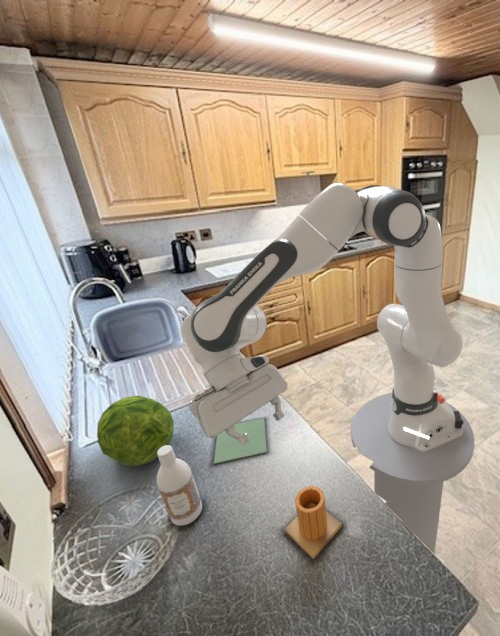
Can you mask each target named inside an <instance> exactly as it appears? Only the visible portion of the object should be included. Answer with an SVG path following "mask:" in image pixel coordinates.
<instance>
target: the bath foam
mask: <svg viewBox="0 0 500 636" xmlns="http://www.w3.org/2000/svg"><path fill="white" fill-rule="evenodd" d="M157 455H158V457H157V458H158V461H159V462H160V466H159V469H158V471H157V474H156V485H157V490H158V491H159V494H160V497H161V499H162V502H163V504H164V506H165V509H166V511H167V513H168V516H169V518H170V521H171V522H172V524H174V525H176V526H179V527H181V526H182V527H183V526H187V525H189V524H191V523H193V522H194V521H195V520H196V519H197V518H199V516H200V515H201V512H202V509H203V502H202V499H201V495H200V493H199V490H198V487H197V484H196V481H195V477H194V475H193V472H192V469H191V467H190V466H189V464H188V462H186V461H184V460H182V459H180V458H178V457H176V454H175V452H174V449H173V446H172V445H170V444H169V445H166V446H163V447H161V448H160V449H159V450H158V451H157Z"/></svg>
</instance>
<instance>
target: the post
mask: <svg viewBox="0 0 500 636" xmlns="http://www.w3.org/2000/svg"><path fill="white" fill-rule="evenodd" d="M315 507H316V505H315V504H313V503H310V504H308V505H307V506H306V509H311V508H315ZM326 518H327V528H326V531H325V533H324V534H323V535H322V536H321V537H320V538H318V539H315V540H309V539H305V538H304V537H303V536H302V535H301V533H300V529H299V522H298V516H296V517H295V518H294V519H293V520H292V521H291V522H290V523H289V524H288V525H287V526H286V527H285V528H284V530H283V531H284V533H285V534H286V535H287V536H288V537H289V538H290V539H292V540H293V542H295V543H296V544H297V545H298V546H299V547H300V548H301V549H302V550H303V551H304V552H305V553H306V554H308V556H309V557H310V558H311V559H312V560H315V558H316V557H317V556H318V555H319V554H320V552H321V551H322V550H323V549H324V548H325V547H326V545H327V544H328V543H329V542H330V541H331V540H332V539H333V537H334V536H335V535H336V534H337V533H338V532H339V530H340V529H341V528H342V527H343V523H342V522H341V521H340V520H338V519H337V518H336V517H335V516H334V515H333V514H331V513H330V512H329V511H327V510H326Z"/></svg>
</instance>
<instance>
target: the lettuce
mask: <svg viewBox="0 0 500 636" xmlns="http://www.w3.org/2000/svg"><path fill="white" fill-rule="evenodd" d="M96 429H97V430H96V431H97V432H96V437H97V444H98V446H99V448H100V450H101V452H102V454H103V455H105V456H106V457H109V458H110V459H111V460H113V461H115V462H117V463H121V464H123V465H125V466H129V467H130V466H132V467H140V466H143V465H146V464H150V463H151V462H152V461H154V460H156V459H157V458H158V455H157V451H158V450H159V449H160V448H161V447H163V446H166V445H170V443H171V441H172V438H173V436H174V418H173V416H172V414H171V411H170V410H169V409H168V408H167V407H166V406H165V405H164V404H162V403H161V402H160V401H157V400H155V399H153V398H150V397H146V396H141V395H134V396H133V395H132V396H125V397H122V398H120V399H119V400H116V401H115V402H112V403H111V404H110V405H109V406H108V407H107V408H106V409H105V410H104V411H103V412H102V414H101V416H100V418H99V420H98V421H97V428H96Z"/></svg>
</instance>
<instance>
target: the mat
mask: <svg viewBox="0 0 500 636" xmlns="http://www.w3.org/2000/svg"><path fill="white" fill-rule="evenodd" d="M265 420H266V419H265V418H258V419H253V420H248V421H243V422H237V423H236V424H234V426H235V428H236V430H235V432H237V433H238V434H240V435H244V434H246V435H247V438H248V439H249V442H247V443H246V444H244V445H243V446H241V445H240V443H239V442H238V440H237V439H234V438H232V437H230V436H228V435H227V433H226V432H225V431H223V432H222V433H220V434H219V435H217V436H216V441H215V448H214V449H215V450H214V458H213V459H214V460H213V464H214V465H216V464H221V463H226V462H230V461H235V460H239V459H245V458H248V457H254V456H257V455H262V454H267V453H268V451H267V438H266V437H267V436H266V423H265Z"/></svg>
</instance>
